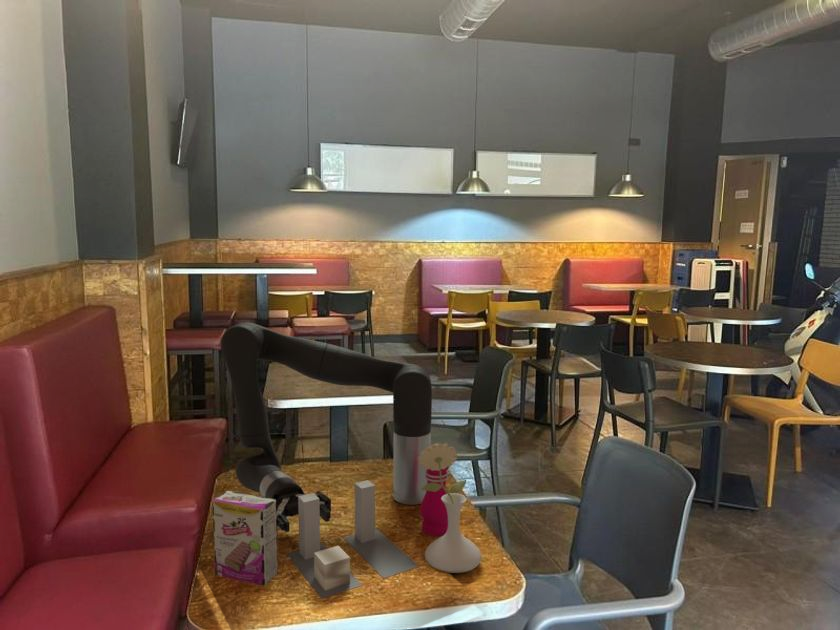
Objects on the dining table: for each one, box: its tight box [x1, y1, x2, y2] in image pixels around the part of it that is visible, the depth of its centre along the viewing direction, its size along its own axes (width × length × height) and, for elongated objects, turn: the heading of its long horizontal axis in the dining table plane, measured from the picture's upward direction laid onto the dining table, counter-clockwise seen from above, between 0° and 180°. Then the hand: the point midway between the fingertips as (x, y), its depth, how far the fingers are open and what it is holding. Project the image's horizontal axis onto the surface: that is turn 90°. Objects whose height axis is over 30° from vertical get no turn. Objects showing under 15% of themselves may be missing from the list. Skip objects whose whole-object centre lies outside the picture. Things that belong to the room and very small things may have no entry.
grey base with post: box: [342, 479, 420, 579], centre depth 125 cm, size 8×18×13 cm, turn 32°
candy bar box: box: [212, 490, 279, 586], centre depth 117 cm, size 11×5×16 cm, turn 71°
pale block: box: [314, 545, 351, 591], centre depth 115 cm, size 5×5×5 cm
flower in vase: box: [418, 443, 482, 574], centre depth 123 cm, size 13×11×25 cm
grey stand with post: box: [286, 492, 363, 600], centre depth 119 cm, size 8×18×13 cm, turn 32°
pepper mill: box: [419, 443, 450, 537], centre depth 137 cm, size 7×7×20 cm
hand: (308, 522), depth 124 cm, fingers open, 8 cm apart
